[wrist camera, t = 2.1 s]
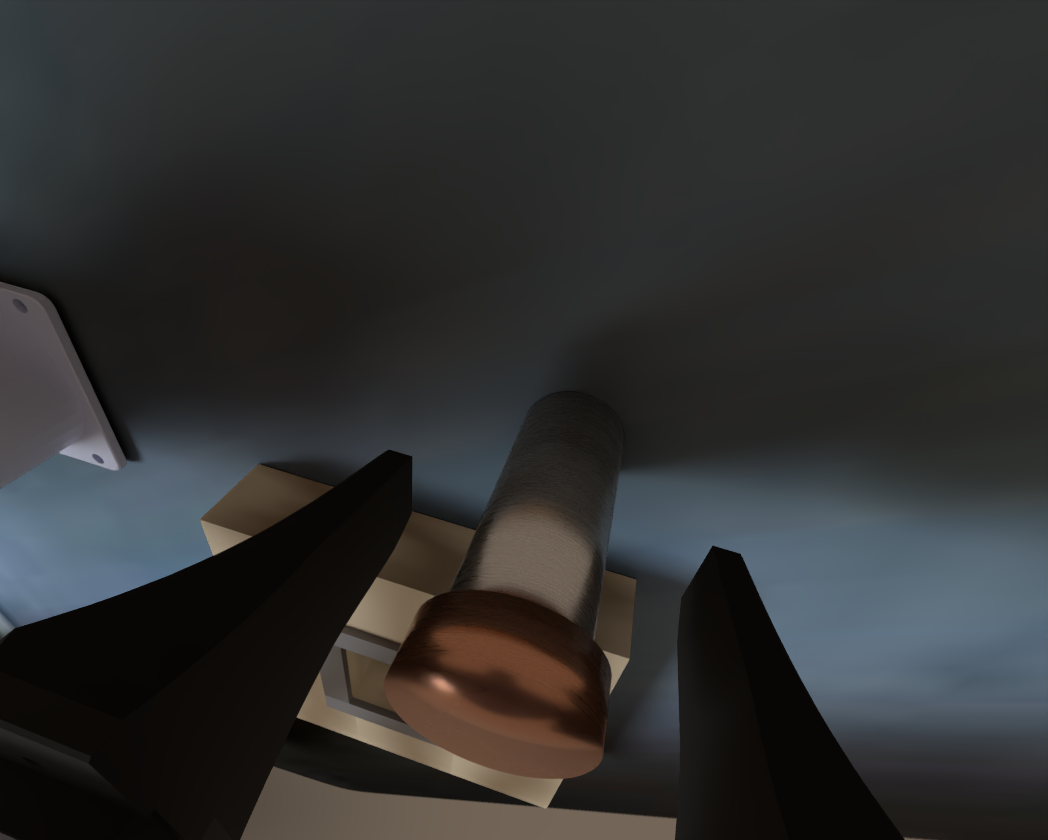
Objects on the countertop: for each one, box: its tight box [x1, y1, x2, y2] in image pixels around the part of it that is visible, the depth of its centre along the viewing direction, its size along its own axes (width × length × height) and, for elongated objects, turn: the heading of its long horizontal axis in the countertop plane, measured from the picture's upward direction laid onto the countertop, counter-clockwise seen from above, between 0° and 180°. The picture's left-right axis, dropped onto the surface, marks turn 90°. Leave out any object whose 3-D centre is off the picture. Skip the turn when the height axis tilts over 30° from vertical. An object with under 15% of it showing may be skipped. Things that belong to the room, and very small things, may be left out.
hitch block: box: [200, 464, 636, 809], centre depth 22 cm, size 15×15×3 cm
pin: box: [384, 392, 624, 779], centre depth 12 cm, size 4×4×8 cm
